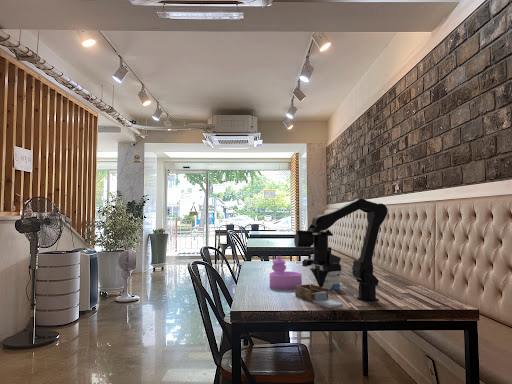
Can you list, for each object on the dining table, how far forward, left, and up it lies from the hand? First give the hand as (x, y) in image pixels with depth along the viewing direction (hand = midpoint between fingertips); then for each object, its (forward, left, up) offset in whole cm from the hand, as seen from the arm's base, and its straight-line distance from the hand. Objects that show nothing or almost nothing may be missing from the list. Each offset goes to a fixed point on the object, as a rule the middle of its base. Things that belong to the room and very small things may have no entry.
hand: (321, 286), depth 149 cm
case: (+7, 0, -6) cm, 9 cm away
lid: (-5, 0, -6) cm, 8 cm away
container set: (+37, -4, -6) cm, 38 cm away
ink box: (+20, -19, -6) cm, 28 cm away
